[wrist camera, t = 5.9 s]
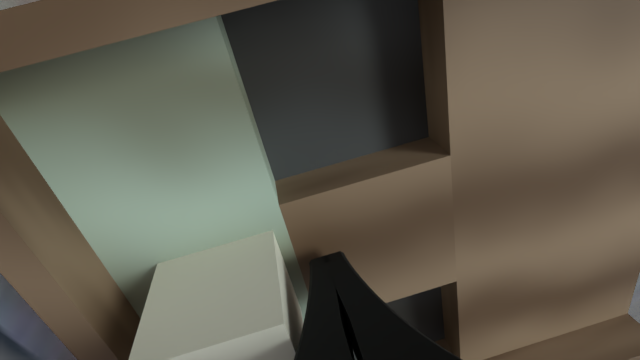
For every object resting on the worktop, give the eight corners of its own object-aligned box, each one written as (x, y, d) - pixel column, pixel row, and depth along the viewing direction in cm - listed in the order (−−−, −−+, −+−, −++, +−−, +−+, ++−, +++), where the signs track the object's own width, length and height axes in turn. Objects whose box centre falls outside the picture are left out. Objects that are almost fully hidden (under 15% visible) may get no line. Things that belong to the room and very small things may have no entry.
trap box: (592, 298, 21) (660, 359, 18) (215, 417, 20) (209, 508, 17) (689, -155, 11) (885, -214, 8) (-44, 31, 10) (-191, 58, 7)
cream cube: (300, 308, 15) (318, 410, 11) (201, 339, 15) (188, 452, 11) (272, 229, 13) (283, 323, 9) (157, 263, 13) (124, 372, 9)
